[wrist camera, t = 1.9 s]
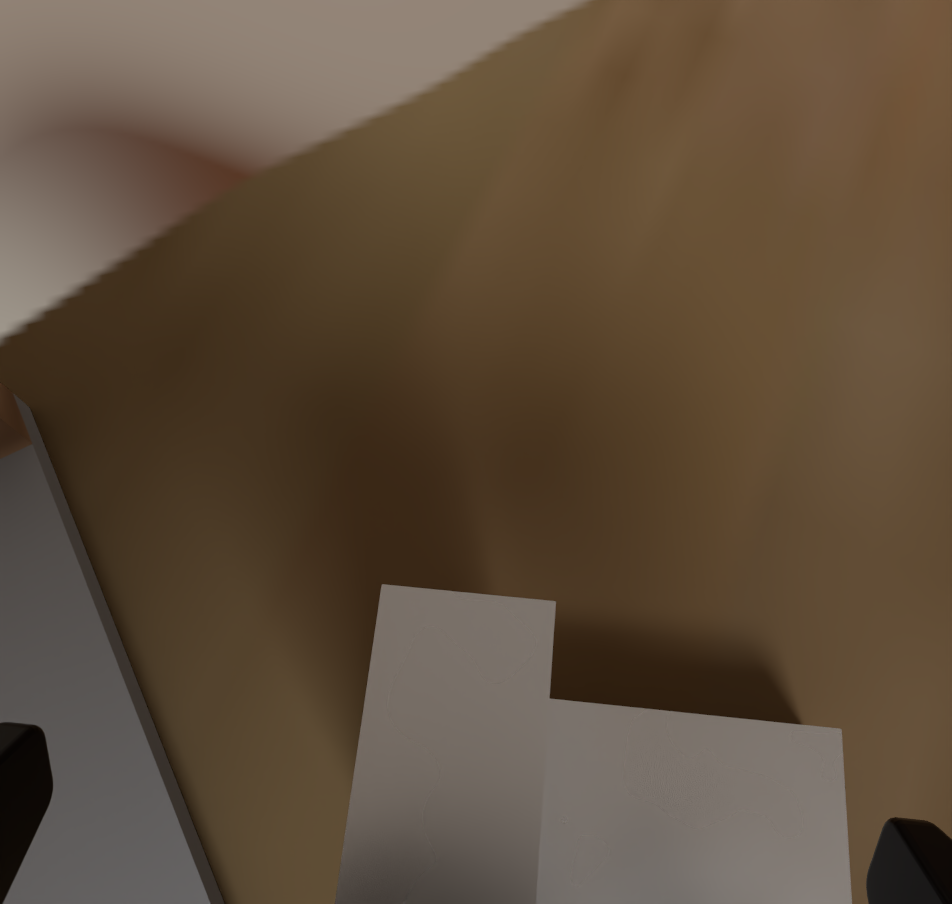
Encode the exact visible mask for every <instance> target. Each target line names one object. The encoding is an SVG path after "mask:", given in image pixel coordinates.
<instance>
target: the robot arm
mask: <svg viewBox="0 0 952 904" xmlns="http://www.w3.org/2000/svg"><path fill="white" fill-rule="evenodd" d="M52 793H53V776H52V771H51V765H50V759H49V754H48V748H47V742H46V737H45V733H44V731H43V730H42V729H41V728H40V727H39V726H37V725H33V724H24V723H14V722H2V723H0V904H3V903H4V900H5V898H6V896H7V894H8V892H9V890H10V888H11V886H12V883H13V881H14V879H15V877H16V875H17V873H18V871H19V869H20V866H21V864H22V862H23V860H24V858H25V856H26V854H27V851H28V849H29V847H30V845H31V843H32V841H33V839H34V837H35V834H36V832H37V830H38V828H39V826H40V824H41V822H42V820H43V817H44V815H45V813H46V811H47V809H48V806H49V804H50V801H51V798H52ZM866 888H867V897H868V902H869V904H952V839H951V838H950V837H948V836H947V835H946V834H945V833H944V832H943V831H942V830H941V829H939V828H938V827H937V826H936V825H934V824H933V823H931V822H928V821H925V820H916V819H907V818H898V817H895V818H890V819H889V820H888V821H887V822H886V823H885V824H884V826H883V829H882V831H881V834H880V837H879V840H878V843H877V846H876V849H875V852H874V855H873V858H872V861H871V864H870V867H869V870H868V874H867V881H866Z"/></svg>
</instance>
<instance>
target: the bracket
mask: <svg viewBox="0 0 952 904" xmlns="http://www.w3.org/2000/svg"><path fill="white" fill-rule="evenodd" d="M555 609H556V601H548V600H538V599H527V598H517V597H507V596H497V595H487V594H477V593H466V592H456V591H446V590H436V589H426V588H416V587H405V586H395V585H385V584H382V586H381V593H380V600H379V607H378V613H377V620H376V627H375V634H374V641H373V648H372V654H371V661H370V668H369V675H368V682H367V688H366V695H365V702H364V709H363V716H362V722H361V729H360V736H359V743H358V750H357V757H356V763H355V770H354V777H353V784H352V791H351V797H350V804H349V811H348V818H347V825H346V831H345V838H344V845H343V852H342V859H341V866H340V872H339V879H338V886H337V893H336V900H335V904H852V898H851V882H850V865H849V848H848V831H847V814H846V798H845V781H844V764H843V747H842V730H841V729H837V728H828V727H818V726H809V725H799V724H789V723H780V722H770V721H761V720H751V719H741V718H732V717H722V716H712V715H703V714H693V713H684V712H674V711H664V710H655V709H645V708H636V707H626V706H616V705H607V704H597V703H587V702H578V701H568V700H559V699H550V684H551V669H552V654H553V639H554V624H555Z"/></svg>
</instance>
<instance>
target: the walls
mask: <svg viewBox="0 0 952 904" xmlns="http://www.w3.org/2000/svg"><path fill="white" fill-rule="evenodd" d="M31 444H32V441H31V439H30V436H29V434H28V431H27V428H26V426H25V423H24V421H23V418H22V415H21V413H20V410H19V408H18V405H17V403H16V400H15V397H14V395H13V393H12V392H11V391H10V390H9V389H8V388H7V387H6V386H4V385H3V384H2V383H1V382H0V459H1V458H3V457H6V456H8V455H10V454H12V453H14V452H16V451H18V450H20V449H23V448H25V447H27V446H29V445H31Z"/></svg>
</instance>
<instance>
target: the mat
mask: <svg viewBox="0 0 952 904" xmlns="http://www.w3.org/2000/svg"><path fill="white" fill-rule="evenodd" d="M13 395H14V397H15V400H16V403H17V405H18V408H19V410H20V413H21V415H22V418H23V421H24V423H25V426H26V428H27V431H28V434H29V436H30V439H31V441H32V444H31V445H29V446H27V447H25V448H23V449H20V450H18V451H16V452H14V453H12V454H10V455H8V456H6V457H3V458H1V459H0V723H2V722H14V723H24V724H33V725H37V726H39V727H40V728H41V729H42V730H43V731H44V733H45V737H46V742H47V748H48V754H49V759H50V765H51V771H52V776H53V793H52V798H51V801H50V804H49V806H48V809H47V811H46V813H45V815H44V817H43V820H42V822H41V824H40V826H39V828H38V830H37V832H36V834H35V837H34V839H33V841H32V843H31V845H30V847H29V849H28V851H27V854H26V856H25V858H24V860H23V862H22V864H21V866H20V869H19V871H18V873H17V875H16V877H15V879H14V881H13V883H12V886H11V888H10V890H9V892H8V894H7V896H6V898H5V900H4V903H3V904H224V901H223V899H222V896H221V893H220V891H219V888H218V886H217V883H216V881H215V878H214V876H213V873H212V871H211V868H210V865H209V863H208V860H207V858H206V855H205V853H204V850H203V848H202V845H201V843H200V840H199V837H198V835H197V832H196V830H195V827H194V825H193V822H192V820H191V817H190V815H189V812H188V809H187V807H186V804H185V802H184V799H183V797H182V794H181V792H180V789H179V787H178V784H177V781H176V779H175V776H174V774H173V771H172V769H171V766H170V764H169V761H168V759H167V756H166V753H165V751H164V748H163V746H162V743H161V741H160V738H159V736H158V733H157V731H156V728H155V725H154V723H153V720H152V718H151V715H150V713H149V710H148V708H147V705H146V703H145V700H144V697H143V695H142V692H141V690H140V687H139V685H138V682H137V680H136V677H135V675H134V672H133V669H132V667H131V664H130V662H129V659H128V657H127V654H126V652H125V649H124V647H123V644H122V641H121V639H120V636H119V634H118V631H117V629H116V626H115V624H114V621H113V619H112V616H111V613H110V611H109V608H108V606H107V603H106V601H105V598H104V596H103V593H102V591H101V588H100V585H99V583H98V580H97V578H96V575H95V573H94V570H93V568H92V565H91V563H90V560H89V557H88V555H87V552H86V550H85V547H84V545H83V542H82V540H81V537H80V535H79V532H78V529H77V527H76V524H75V522H74V519H73V517H72V514H71V512H70V509H69V507H68V504H67V501H66V499H65V496H64V494H63V491H62V489H61V486H60V484H59V481H58V479H57V476H56V473H55V471H54V468H53V466H52V463H51V461H50V458H49V456H48V453H47V451H46V448H45V445H44V443H43V440H42V438H41V435H40V433H39V430H38V428H37V425H36V423H35V420H34V417H33V415H32V412H31V410H30V407H28V406H27V405H26V404H25V403H24V402H23V401H22V400H20V399H19V398H18V397H17V396H16V395H15V394H14V393H13Z"/></svg>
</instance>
